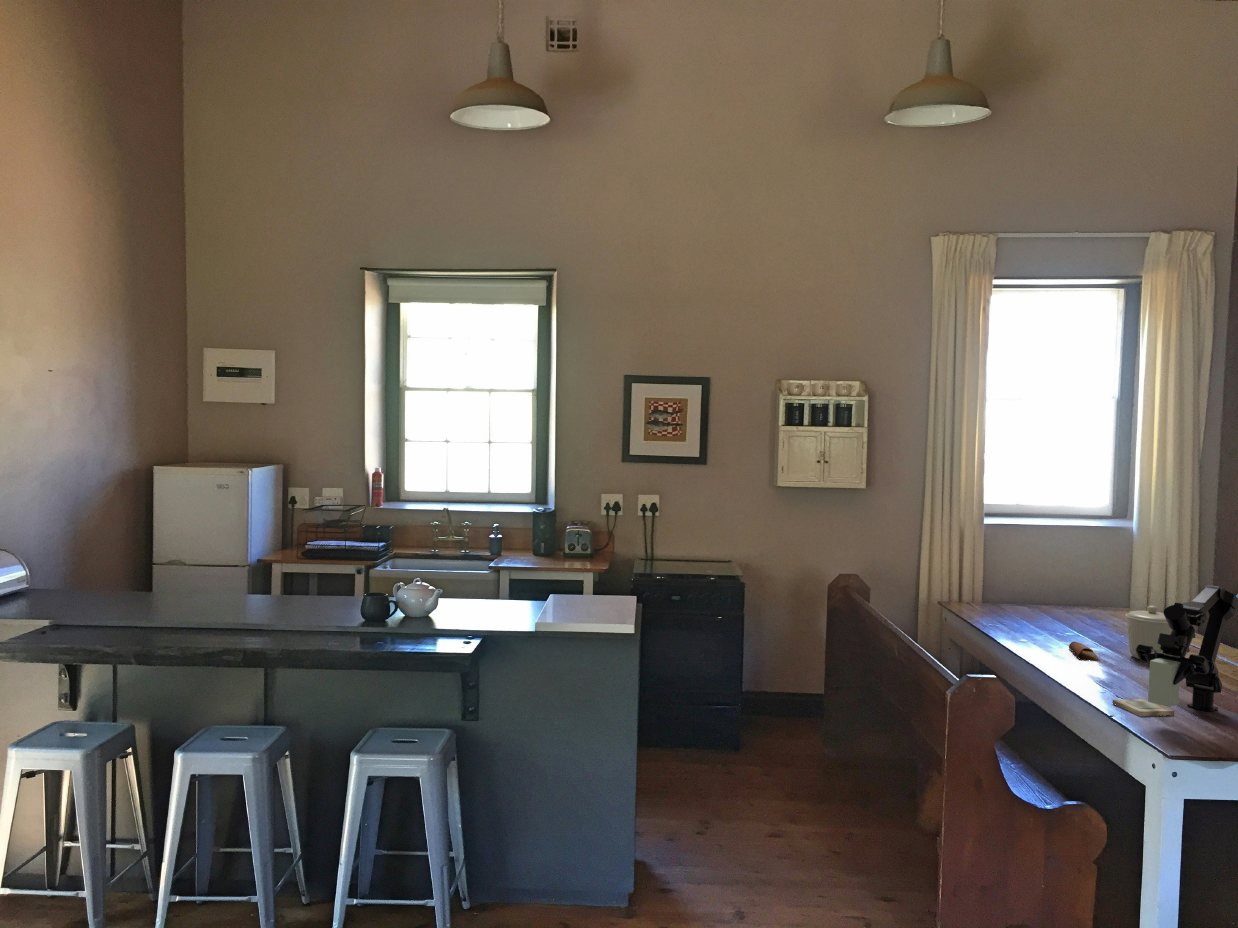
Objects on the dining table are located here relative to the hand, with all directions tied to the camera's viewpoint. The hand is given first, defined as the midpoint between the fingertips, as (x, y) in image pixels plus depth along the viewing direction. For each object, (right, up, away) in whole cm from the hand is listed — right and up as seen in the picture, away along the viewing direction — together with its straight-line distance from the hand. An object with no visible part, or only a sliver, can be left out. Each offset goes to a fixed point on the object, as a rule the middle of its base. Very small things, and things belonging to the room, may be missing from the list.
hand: (1162, 681), depth 266 cm
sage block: (+1, -7, +1) cm, 7 cm away
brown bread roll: (+22, -11, +85) cm, 89 cm away
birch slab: (+4, -13, +16) cm, 21 cm away
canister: (+45, -12, +82) cm, 95 cm away
